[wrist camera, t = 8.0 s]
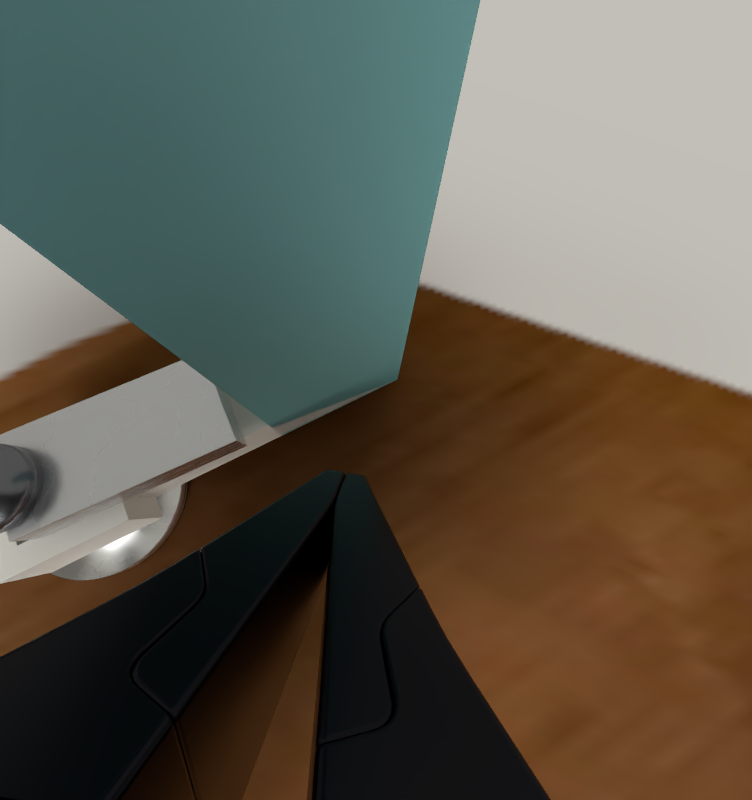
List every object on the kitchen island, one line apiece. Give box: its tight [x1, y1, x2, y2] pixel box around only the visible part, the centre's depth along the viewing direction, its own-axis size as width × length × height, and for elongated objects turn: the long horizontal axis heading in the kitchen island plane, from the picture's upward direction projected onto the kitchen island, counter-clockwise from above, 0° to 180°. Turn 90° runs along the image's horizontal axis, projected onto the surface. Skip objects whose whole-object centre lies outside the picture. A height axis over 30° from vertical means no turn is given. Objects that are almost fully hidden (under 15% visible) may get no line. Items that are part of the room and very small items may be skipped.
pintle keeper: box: [0, 360, 247, 580], centre depth 12 cm, size 9×6×5 cm, turn 115°
